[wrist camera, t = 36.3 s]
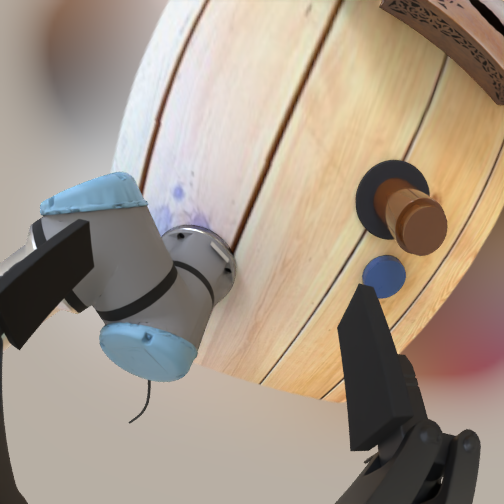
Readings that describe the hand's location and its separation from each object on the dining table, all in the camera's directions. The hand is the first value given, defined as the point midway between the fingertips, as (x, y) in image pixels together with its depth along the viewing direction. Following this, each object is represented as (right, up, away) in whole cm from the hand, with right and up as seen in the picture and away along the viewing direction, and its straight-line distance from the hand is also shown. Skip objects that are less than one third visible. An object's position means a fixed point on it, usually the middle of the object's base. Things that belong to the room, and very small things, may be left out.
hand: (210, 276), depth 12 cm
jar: (+24, +9, +26) cm, 36 cm away
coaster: (+24, +9, +26) cm, 37 cm away
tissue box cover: (+35, +37, +9) cm, 52 cm away
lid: (+25, -4, +31) cm, 40 cm away
